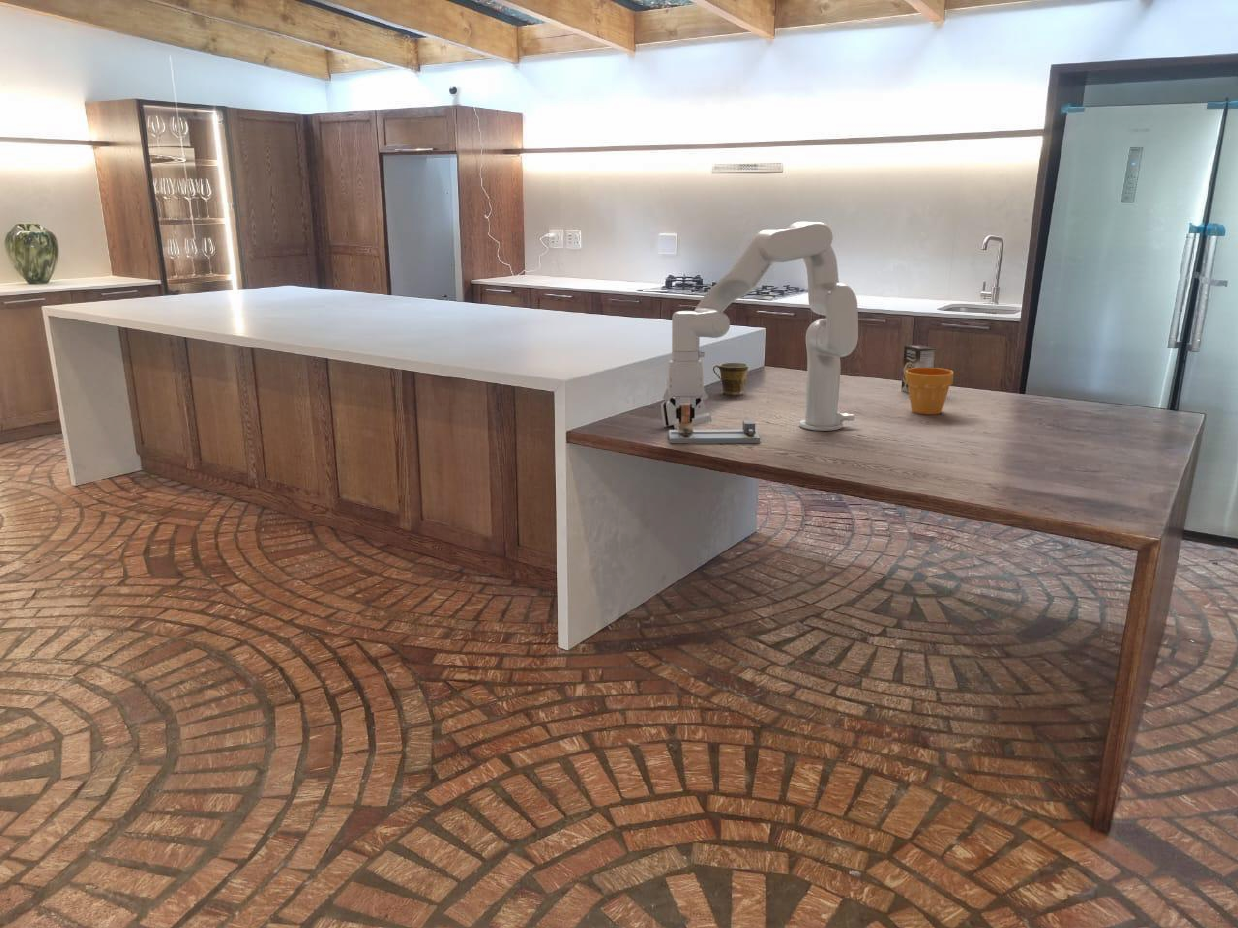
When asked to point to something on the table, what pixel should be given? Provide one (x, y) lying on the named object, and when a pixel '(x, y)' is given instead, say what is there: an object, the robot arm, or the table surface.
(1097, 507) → the table surface
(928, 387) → the flower pot
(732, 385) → the ceramic cup
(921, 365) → the coffee box
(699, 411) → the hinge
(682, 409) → the block
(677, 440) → the gauge board
